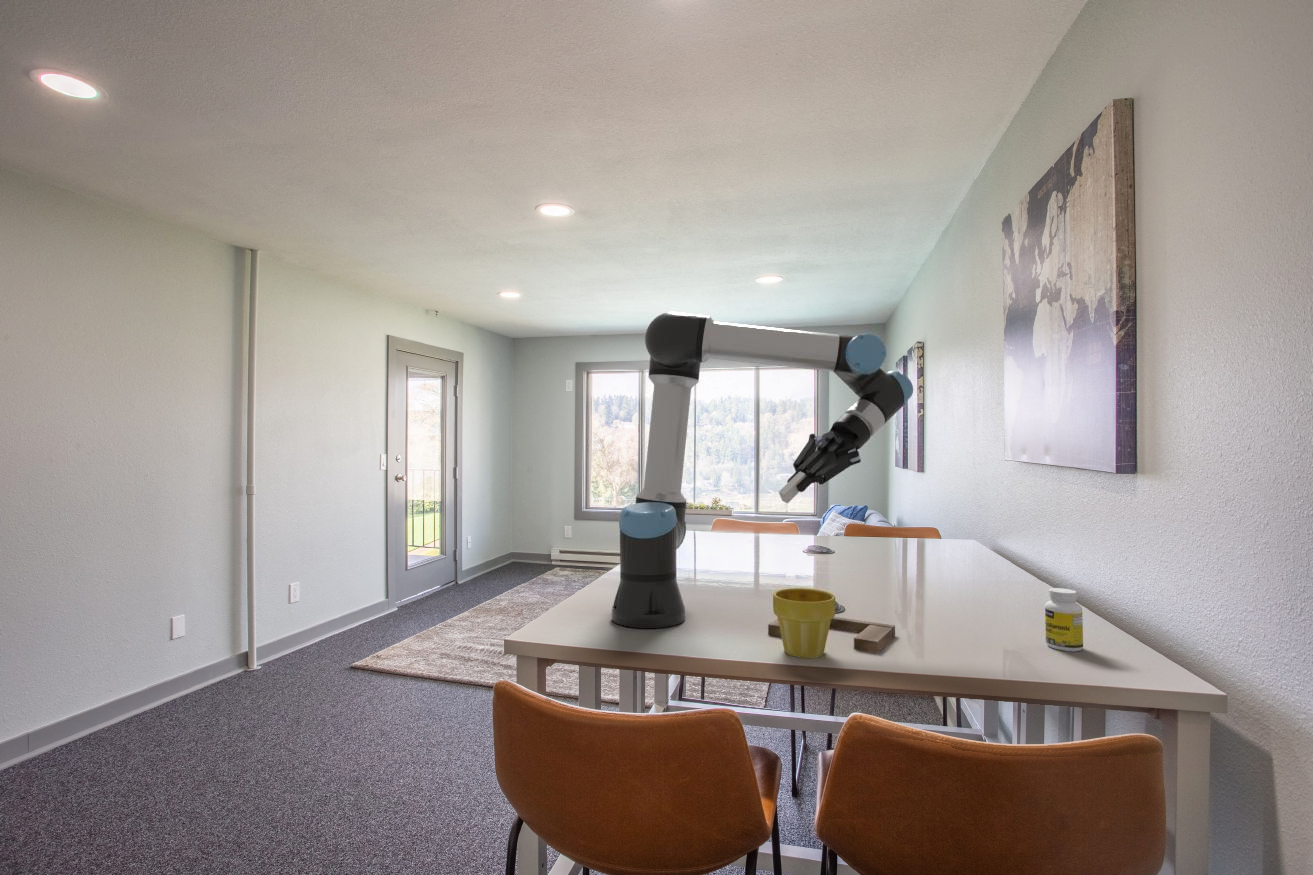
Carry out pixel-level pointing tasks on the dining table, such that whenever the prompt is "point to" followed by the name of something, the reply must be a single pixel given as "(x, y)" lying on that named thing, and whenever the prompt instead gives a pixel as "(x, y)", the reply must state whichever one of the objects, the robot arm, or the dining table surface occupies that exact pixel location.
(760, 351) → the robot arm
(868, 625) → the brown u-shaped block
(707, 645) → the dining table surface
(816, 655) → the plant pot
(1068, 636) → the supplement bottle
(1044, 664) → the dining table surface
